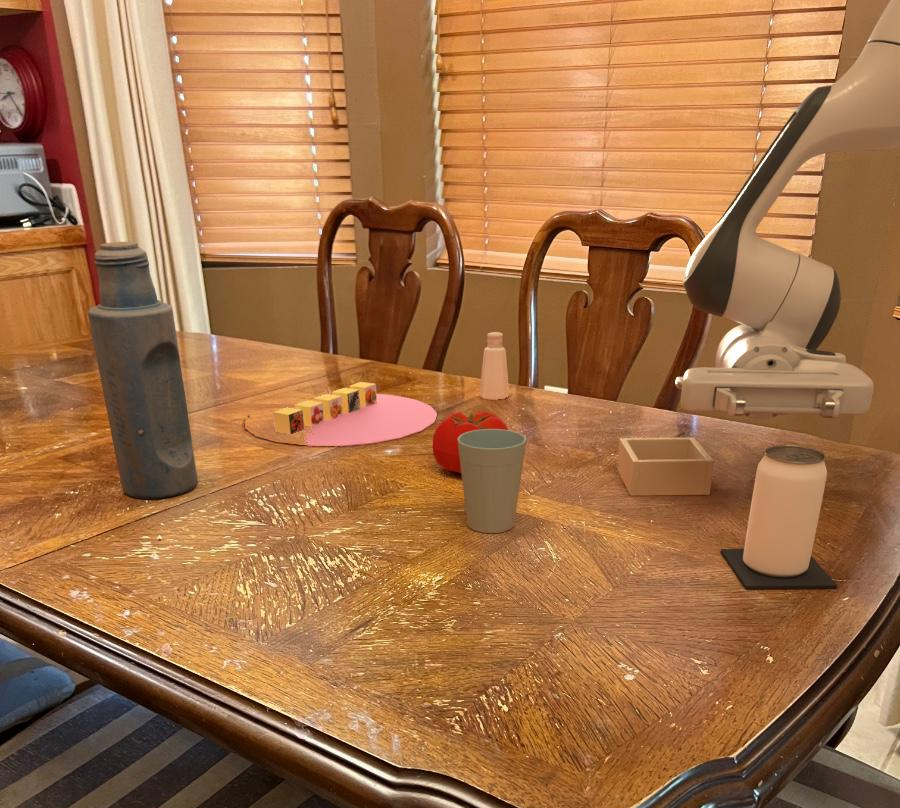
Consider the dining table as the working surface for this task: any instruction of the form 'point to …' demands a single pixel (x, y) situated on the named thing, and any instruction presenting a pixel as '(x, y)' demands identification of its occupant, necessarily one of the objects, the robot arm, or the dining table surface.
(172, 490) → the bottle
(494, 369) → the salt shaker
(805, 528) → the can
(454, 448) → the tomato
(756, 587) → the mat
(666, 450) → the caddy
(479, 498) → the cup
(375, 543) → the dining table surface
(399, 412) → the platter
